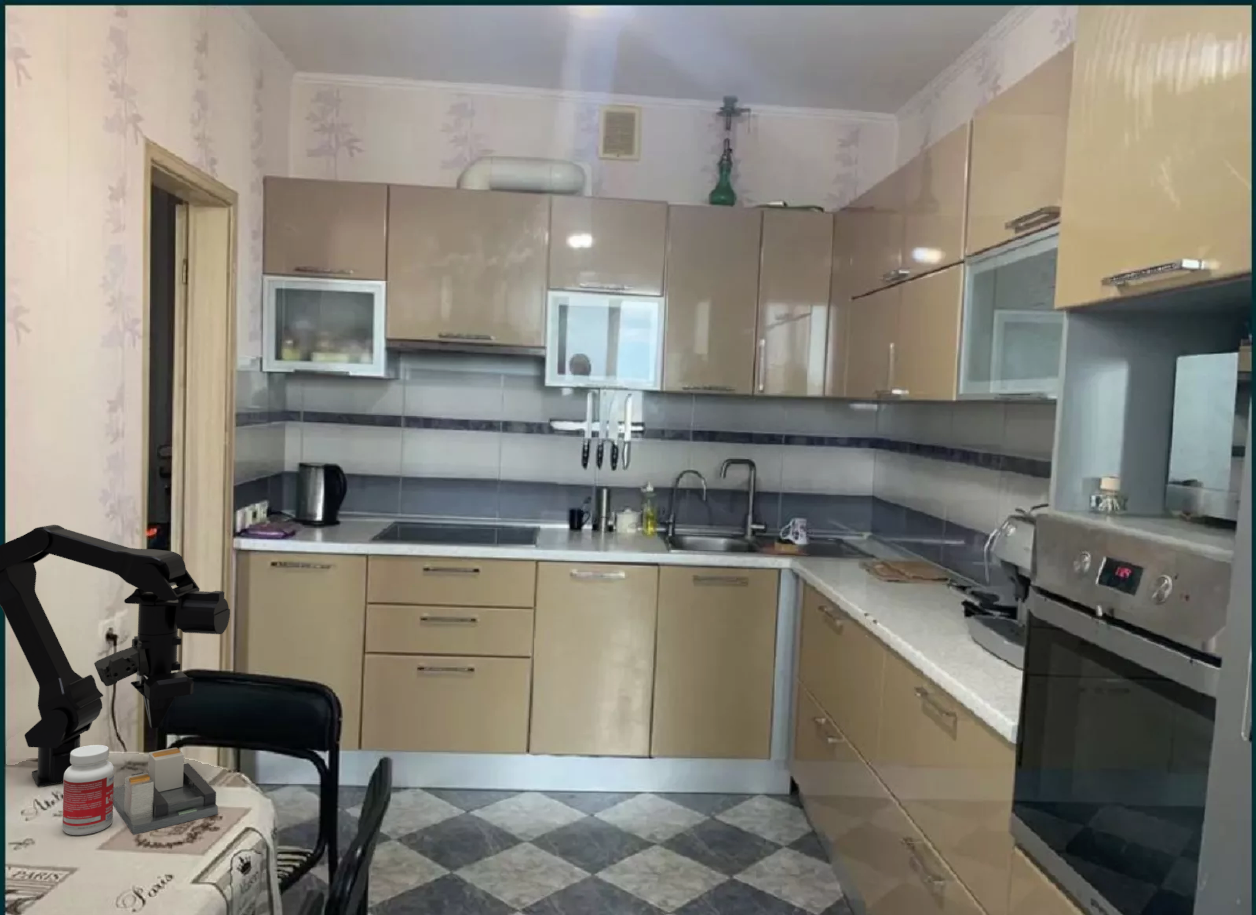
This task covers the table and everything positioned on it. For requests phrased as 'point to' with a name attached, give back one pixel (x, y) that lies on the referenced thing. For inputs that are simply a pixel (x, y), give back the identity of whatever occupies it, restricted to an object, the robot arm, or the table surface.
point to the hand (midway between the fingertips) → (154, 727)
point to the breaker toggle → (166, 768)
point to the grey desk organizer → (163, 801)
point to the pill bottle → (88, 791)
